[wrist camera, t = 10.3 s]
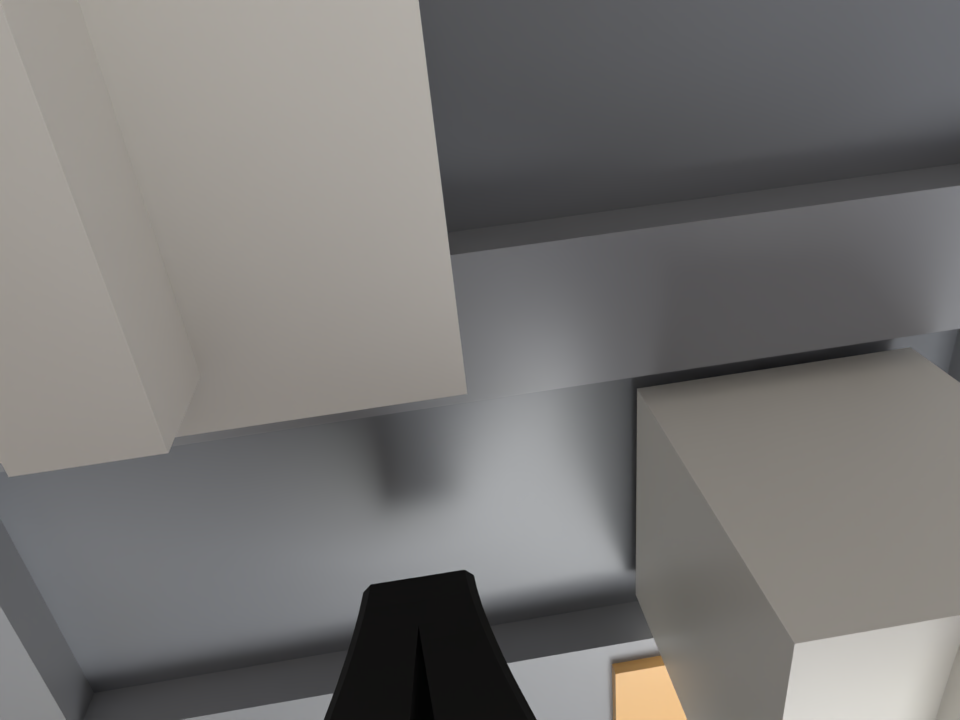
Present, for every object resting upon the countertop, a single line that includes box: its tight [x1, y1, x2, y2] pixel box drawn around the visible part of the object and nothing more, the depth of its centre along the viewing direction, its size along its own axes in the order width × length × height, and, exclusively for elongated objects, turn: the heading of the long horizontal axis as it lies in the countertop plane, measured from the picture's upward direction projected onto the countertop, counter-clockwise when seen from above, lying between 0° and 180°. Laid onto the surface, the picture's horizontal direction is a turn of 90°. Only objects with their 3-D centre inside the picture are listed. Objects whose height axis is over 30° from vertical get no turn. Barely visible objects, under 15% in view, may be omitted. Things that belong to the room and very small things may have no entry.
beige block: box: [0, 0, 467, 477], centre depth 5 cm, size 4×4×5 cm
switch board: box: [0, 0, 960, 720], centre depth 8 cm, size 16×24×2 cm, turn 6°
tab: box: [636, 347, 960, 720], centre depth 9 cm, size 4×4×5 cm
